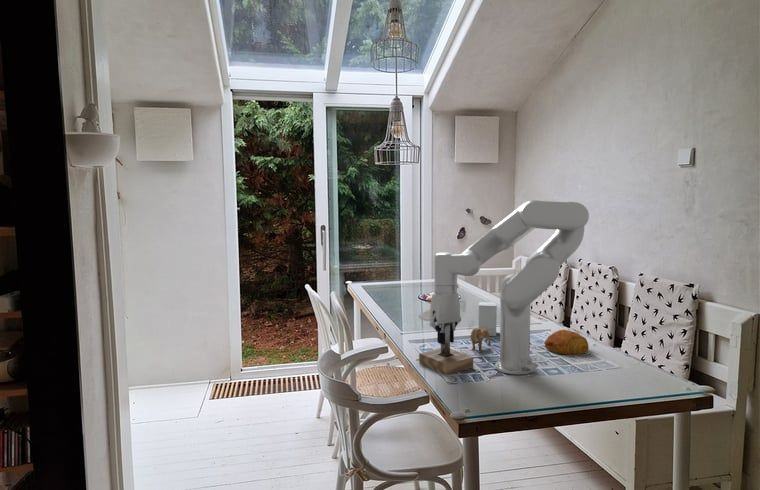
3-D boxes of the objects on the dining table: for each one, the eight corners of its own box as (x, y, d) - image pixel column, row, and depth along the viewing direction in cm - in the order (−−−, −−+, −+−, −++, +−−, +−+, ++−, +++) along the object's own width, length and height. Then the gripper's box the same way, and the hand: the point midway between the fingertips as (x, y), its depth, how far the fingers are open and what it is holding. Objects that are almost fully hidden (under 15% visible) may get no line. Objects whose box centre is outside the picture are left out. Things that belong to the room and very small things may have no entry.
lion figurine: (482, 354, 186) (482, 330, 185) (468, 352, 188) (468, 328, 188) (492, 343, 199) (492, 320, 198) (479, 342, 201) (479, 319, 201)
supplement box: (496, 336, 209) (496, 305, 208) (477, 335, 211) (478, 305, 209) (496, 331, 216) (496, 302, 215) (478, 330, 218) (478, 301, 217)
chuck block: (473, 367, 172) (473, 356, 172) (446, 374, 166) (446, 363, 165) (445, 356, 184) (445, 346, 184) (419, 363, 177) (419, 352, 177)
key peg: (453, 353, 174) (453, 318, 173) (444, 355, 172) (444, 320, 170) (446, 350, 177) (446, 316, 176) (437, 352, 175) (437, 317, 174)
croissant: (566, 347, 200) (565, 327, 200) (596, 353, 185) (595, 331, 186) (536, 351, 195) (534, 330, 195) (563, 357, 180) (562, 334, 181)
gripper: (456, 285, 180) (456, 336, 182) (419, 290, 171) (419, 344, 173) (471, 288, 174) (471, 341, 175) (434, 293, 165) (433, 349, 166)
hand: (445, 342), depth 174 cm, fingers closed on key peg, 3 cm apart
